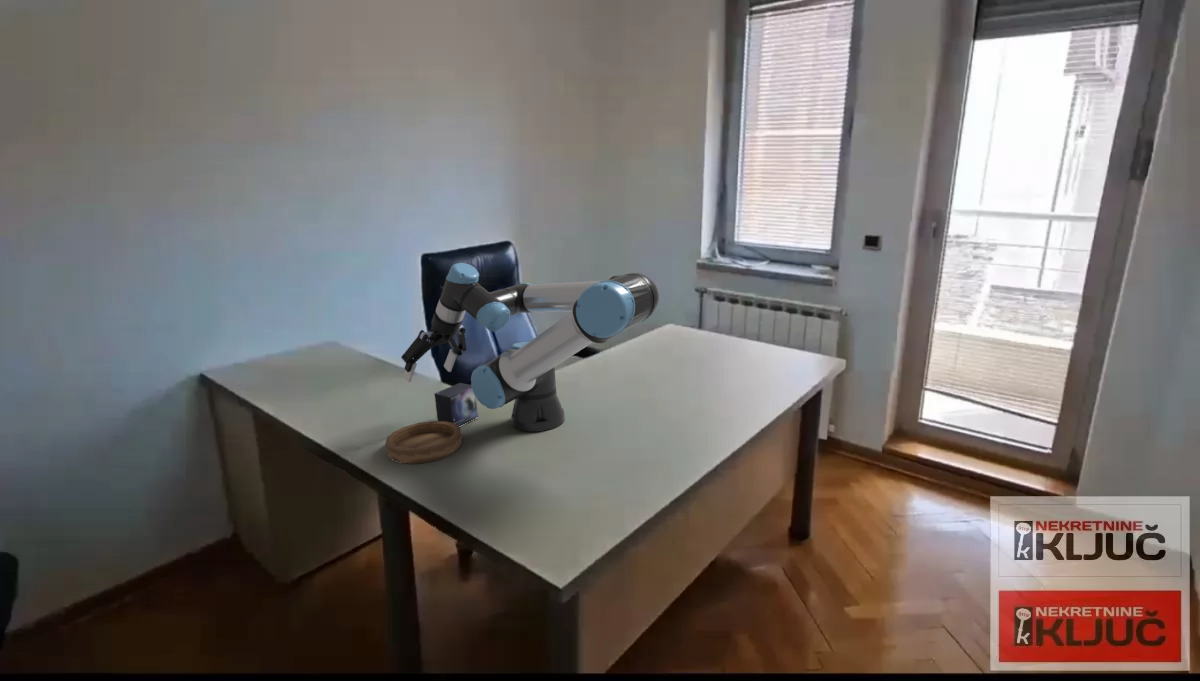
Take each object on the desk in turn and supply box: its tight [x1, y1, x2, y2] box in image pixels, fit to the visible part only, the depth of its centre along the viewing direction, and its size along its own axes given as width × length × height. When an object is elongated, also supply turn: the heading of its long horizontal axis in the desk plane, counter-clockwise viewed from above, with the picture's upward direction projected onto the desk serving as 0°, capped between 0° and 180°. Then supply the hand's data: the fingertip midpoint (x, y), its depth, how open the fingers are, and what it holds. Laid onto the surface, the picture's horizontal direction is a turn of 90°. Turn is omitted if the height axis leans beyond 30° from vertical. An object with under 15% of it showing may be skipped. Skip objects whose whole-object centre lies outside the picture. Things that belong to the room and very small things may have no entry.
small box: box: [433, 382, 479, 426], centre depth 178 cm, size 11×6×10 cm, turn 148°
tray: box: [384, 420, 463, 465], centre depth 163 cm, size 19×19×4 cm
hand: (427, 373), depth 177 cm, fingers open, 13 cm apart
